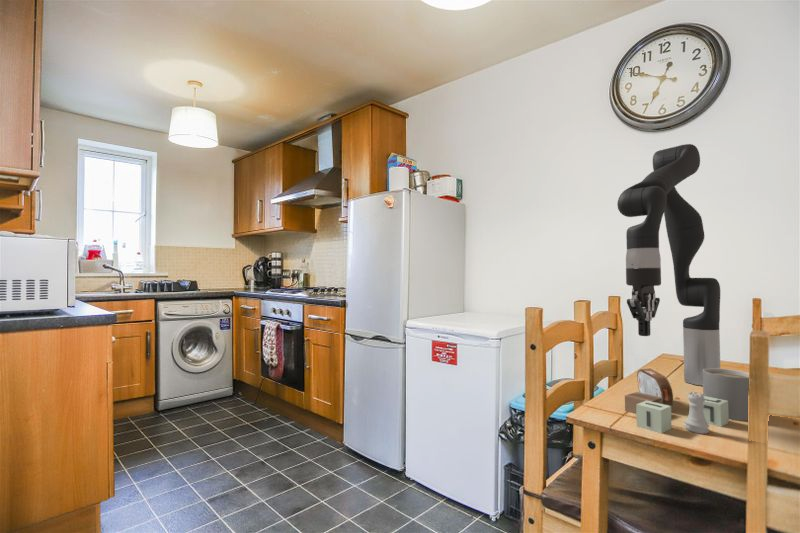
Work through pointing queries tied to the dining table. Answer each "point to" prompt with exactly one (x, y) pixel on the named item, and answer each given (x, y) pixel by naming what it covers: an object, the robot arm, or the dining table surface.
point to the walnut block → (639, 400)
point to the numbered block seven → (715, 411)
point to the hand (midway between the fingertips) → (644, 335)
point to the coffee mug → (728, 390)
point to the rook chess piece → (696, 414)
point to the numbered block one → (653, 416)
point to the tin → (655, 385)
